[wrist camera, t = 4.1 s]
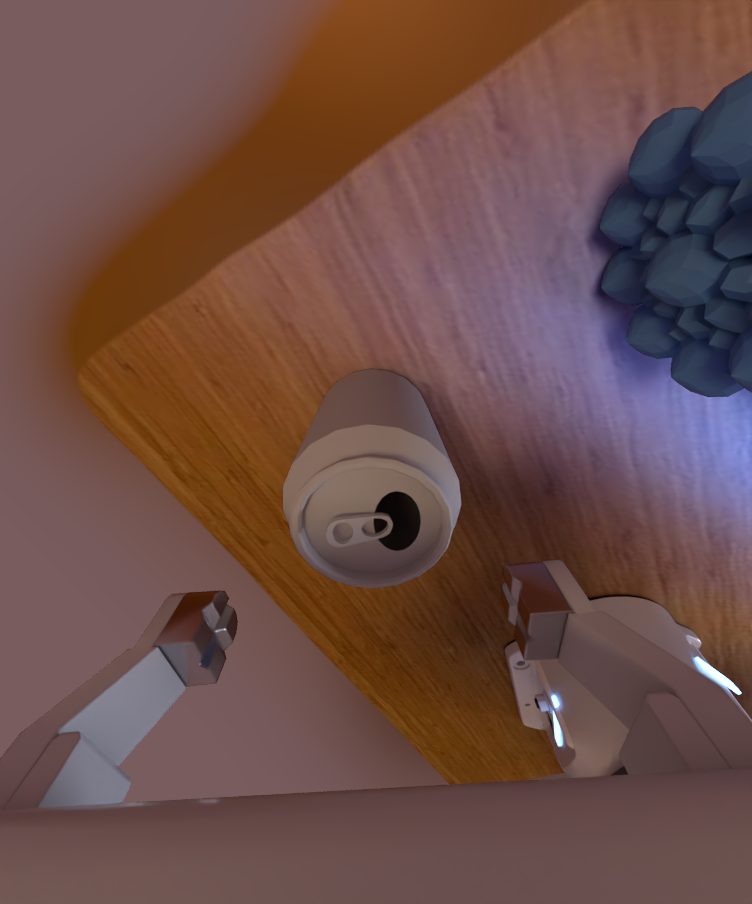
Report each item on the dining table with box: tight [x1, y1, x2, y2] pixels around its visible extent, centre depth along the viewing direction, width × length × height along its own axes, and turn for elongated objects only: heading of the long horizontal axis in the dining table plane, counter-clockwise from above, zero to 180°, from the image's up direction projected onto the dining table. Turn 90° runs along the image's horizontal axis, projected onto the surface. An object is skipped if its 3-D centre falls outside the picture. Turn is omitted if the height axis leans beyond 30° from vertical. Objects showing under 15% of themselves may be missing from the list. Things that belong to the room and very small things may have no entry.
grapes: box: [600, 71, 752, 397], centre depth 13 cm, size 12×7×12 cm, turn 22°
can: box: [283, 369, 461, 588], centre depth 18 cm, size 8×8×12 cm
